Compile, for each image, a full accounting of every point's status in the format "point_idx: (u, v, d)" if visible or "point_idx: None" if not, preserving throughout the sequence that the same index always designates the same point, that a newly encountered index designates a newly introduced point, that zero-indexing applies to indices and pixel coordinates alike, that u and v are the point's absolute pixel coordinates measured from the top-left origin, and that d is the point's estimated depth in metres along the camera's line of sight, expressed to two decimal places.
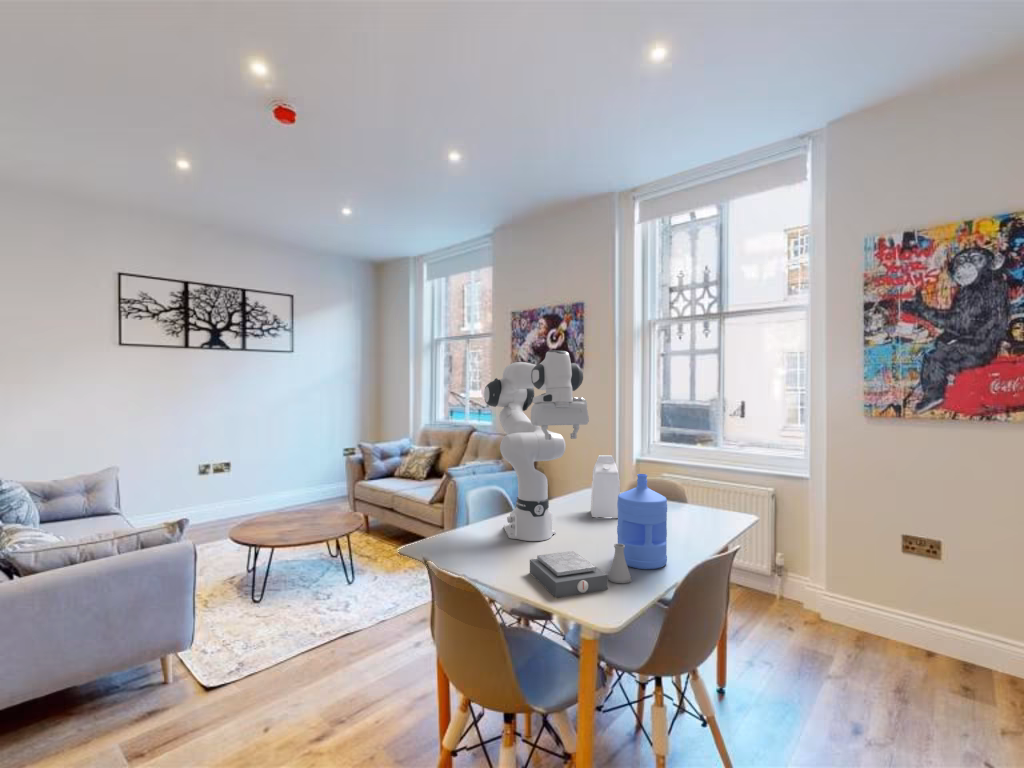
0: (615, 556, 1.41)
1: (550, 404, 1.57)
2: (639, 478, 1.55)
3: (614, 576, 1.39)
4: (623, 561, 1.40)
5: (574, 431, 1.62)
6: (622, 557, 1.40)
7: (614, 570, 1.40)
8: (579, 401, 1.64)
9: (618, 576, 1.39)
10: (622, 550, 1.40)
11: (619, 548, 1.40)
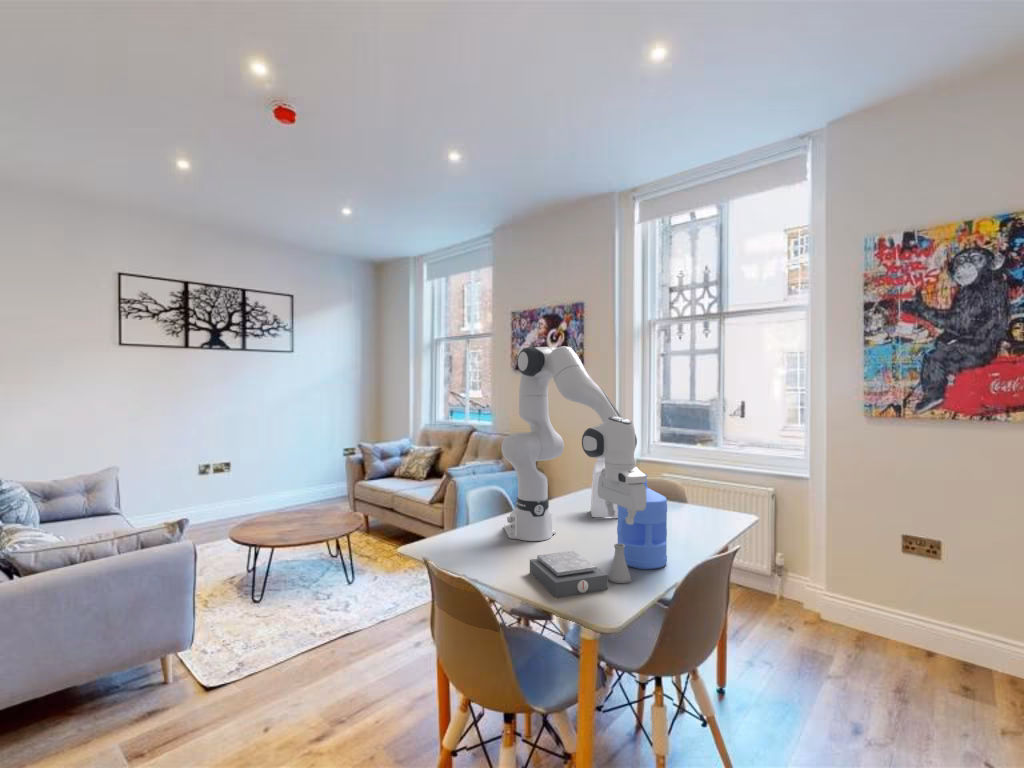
0: (615, 556, 1.41)
1: None
2: None
3: (614, 576, 1.39)
4: (623, 561, 1.40)
5: (610, 507, 1.46)
6: (622, 557, 1.40)
7: (614, 570, 1.40)
8: None
9: (618, 576, 1.39)
10: (622, 550, 1.41)
11: (619, 548, 1.40)
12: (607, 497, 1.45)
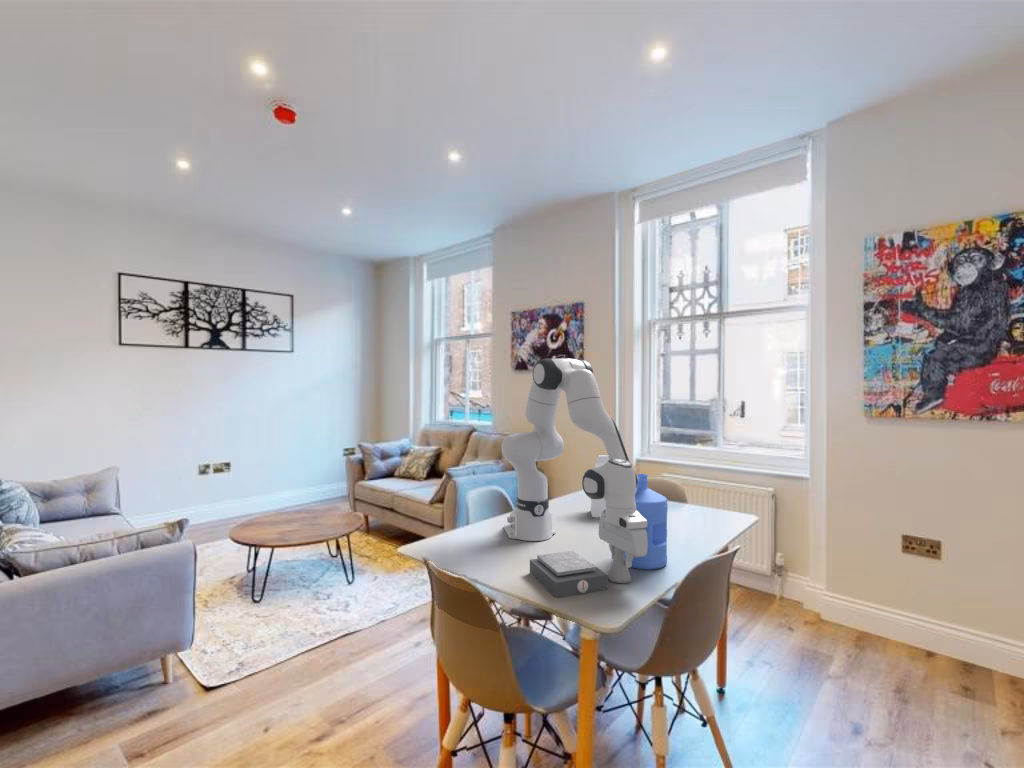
0: (615, 556, 1.41)
1: None
2: (639, 478, 1.55)
3: (614, 576, 1.39)
4: (623, 561, 1.40)
5: (614, 551, 1.44)
6: (622, 557, 1.40)
7: (614, 569, 1.40)
8: None
9: (618, 576, 1.39)
10: None
11: None
12: (608, 540, 1.44)
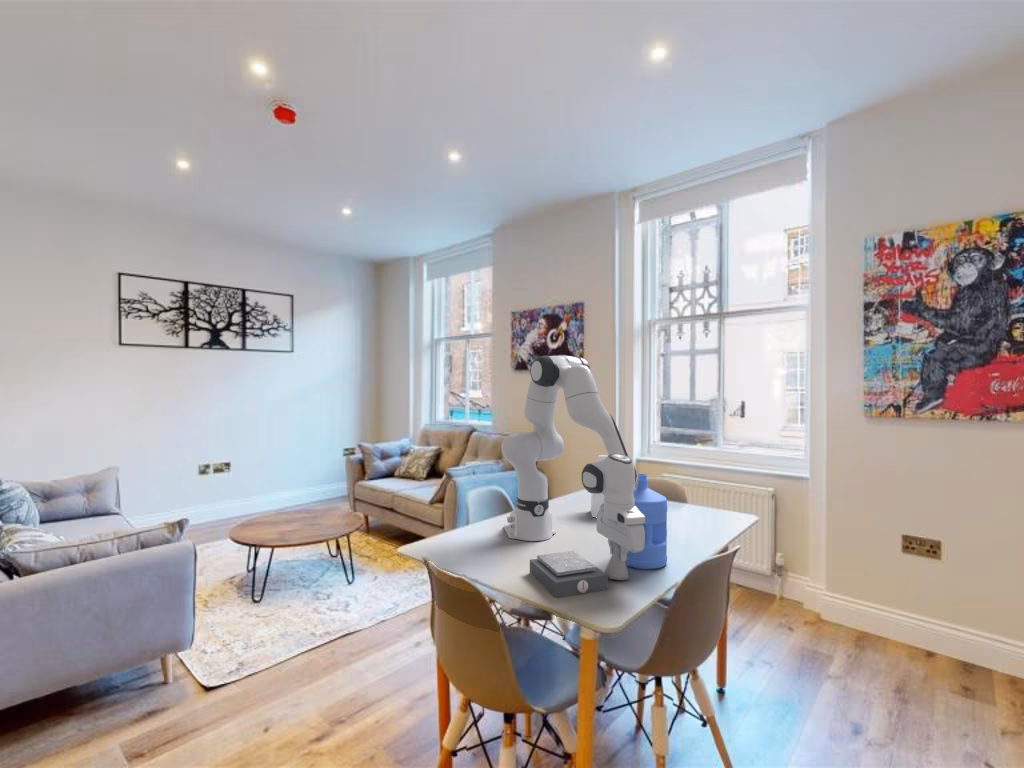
0: (614, 553, 1.41)
1: None
2: (639, 478, 1.55)
3: (611, 573, 1.40)
4: None
5: (613, 546, 1.44)
6: None
7: (612, 566, 1.40)
8: None
9: (616, 573, 1.40)
10: None
11: (619, 546, 1.40)
12: (605, 534, 1.45)
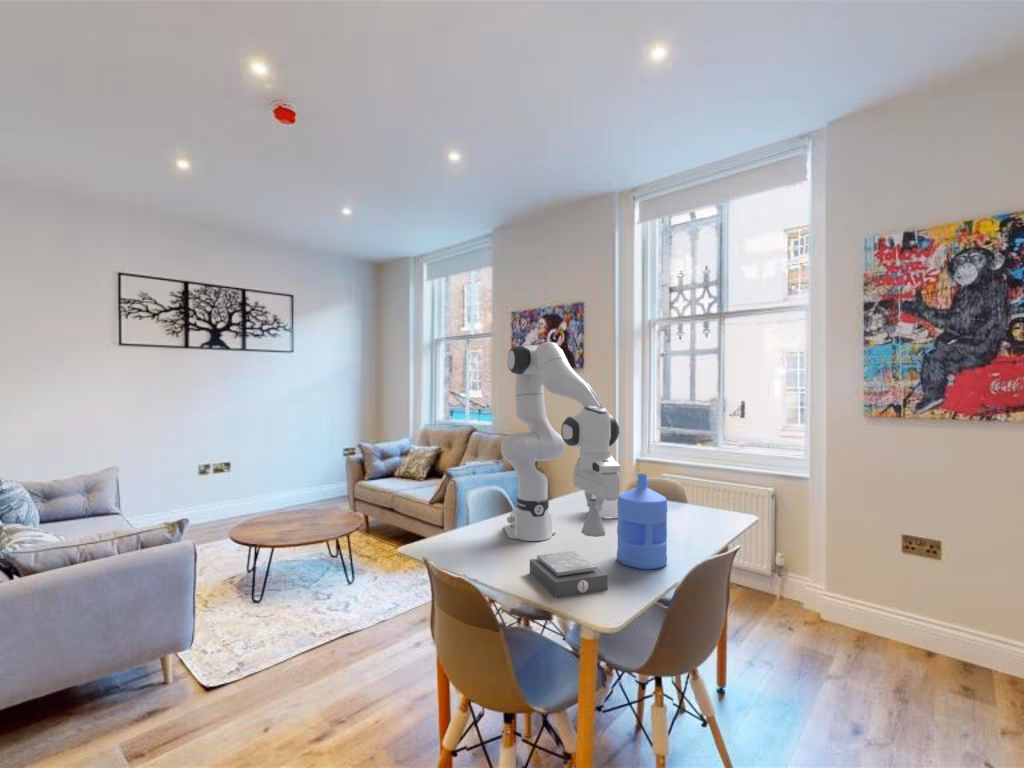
0: (590, 510, 1.41)
1: None
2: (639, 478, 1.55)
3: (588, 530, 1.39)
4: (597, 515, 1.40)
5: (590, 498, 1.44)
6: (596, 511, 1.40)
7: (588, 523, 1.40)
8: None
9: (592, 530, 1.39)
10: None
11: (594, 502, 1.40)
12: (582, 486, 1.45)
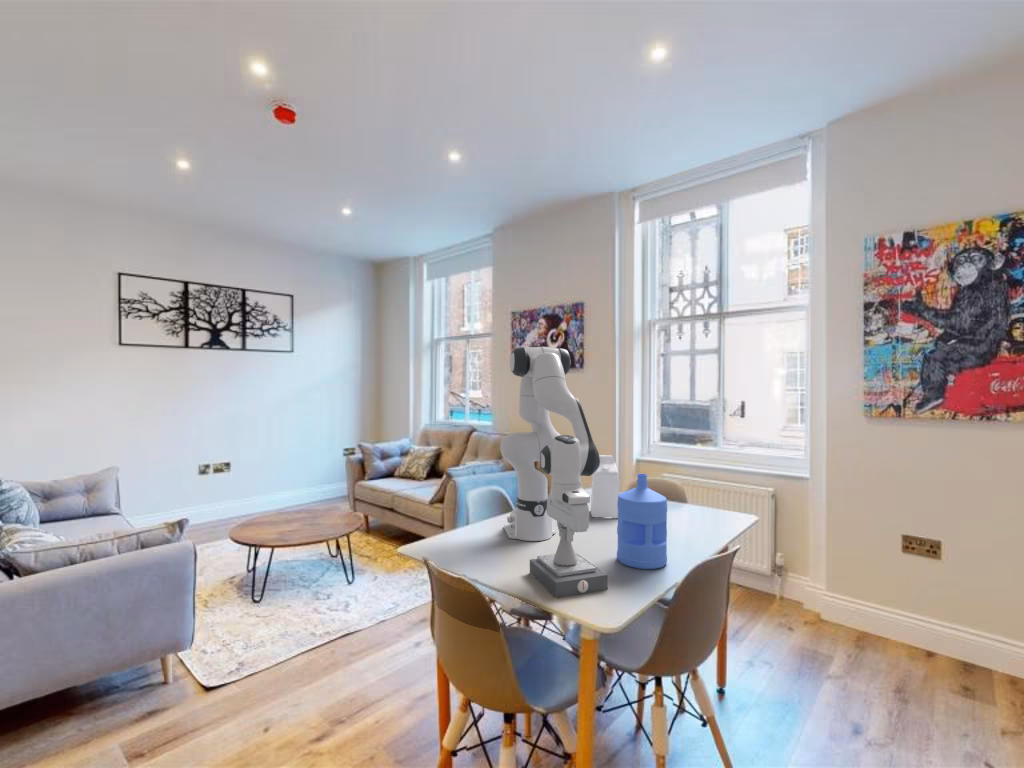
0: (561, 538, 1.40)
1: None
2: (639, 478, 1.55)
3: (559, 559, 1.38)
4: (569, 543, 1.39)
5: None
6: None
7: (559, 552, 1.39)
8: None
9: (563, 558, 1.38)
10: None
11: (565, 530, 1.40)
12: (554, 516, 1.44)
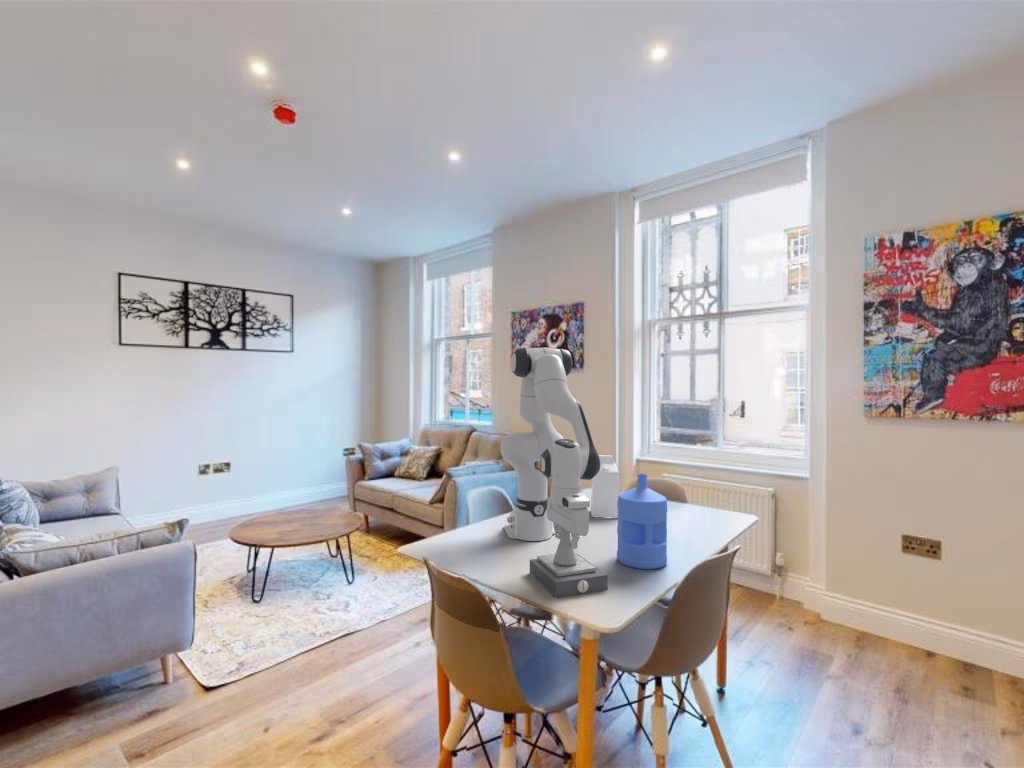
0: (561, 538, 1.40)
1: None
2: (639, 478, 1.55)
3: (559, 559, 1.38)
4: (569, 543, 1.39)
5: (558, 529, 1.46)
6: (568, 539, 1.40)
7: (559, 552, 1.39)
8: None
9: (563, 558, 1.38)
10: (568, 532, 1.40)
11: (565, 530, 1.40)
12: (554, 520, 1.44)
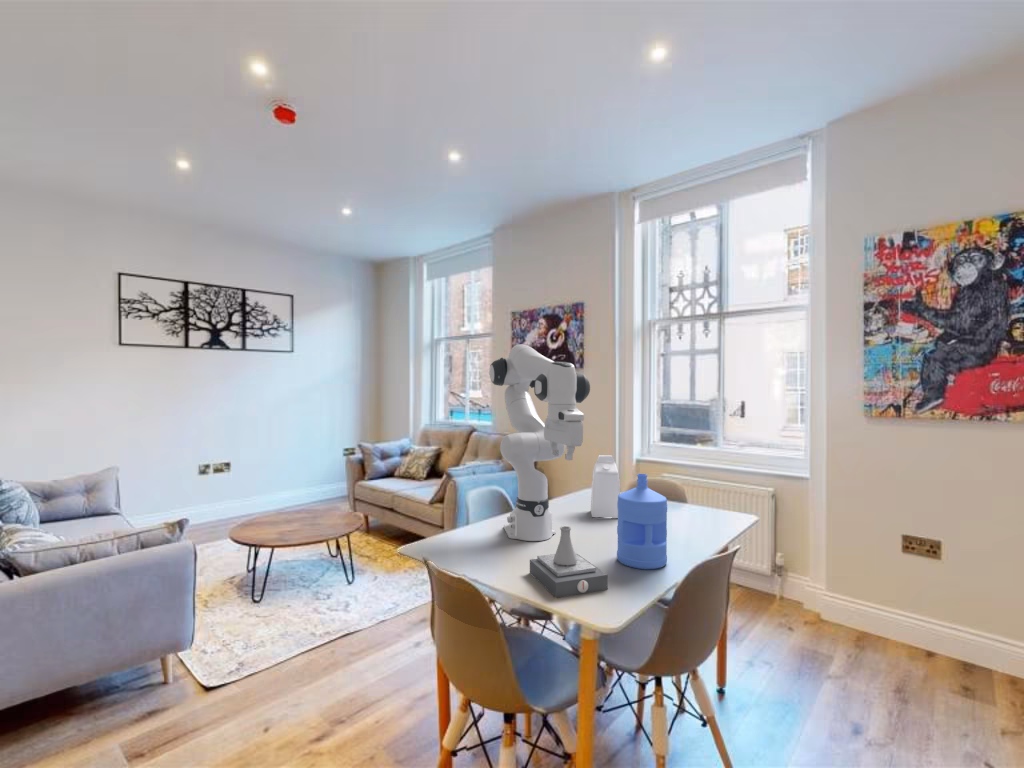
0: (561, 538, 1.40)
1: None
2: (639, 478, 1.55)
3: (559, 559, 1.38)
4: (569, 543, 1.39)
5: (554, 448, 1.55)
6: (568, 539, 1.40)
7: (559, 552, 1.39)
8: None
9: (563, 558, 1.38)
10: (568, 532, 1.40)
11: (565, 530, 1.40)
12: (551, 437, 1.54)
